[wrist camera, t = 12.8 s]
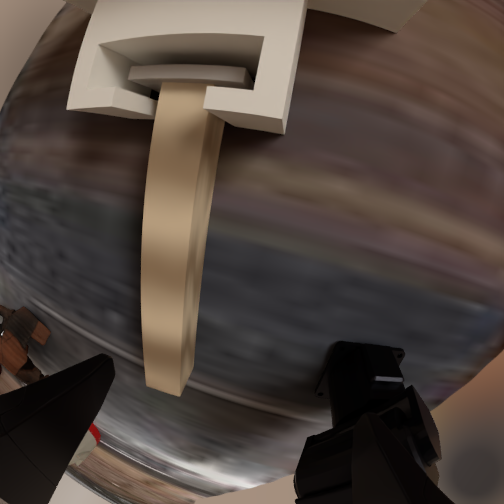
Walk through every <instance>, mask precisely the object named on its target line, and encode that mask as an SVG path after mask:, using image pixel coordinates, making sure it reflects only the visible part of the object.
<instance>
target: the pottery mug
mask: <svg viewBox="0 0 504 504" xmlns="http://www.w3.org/2000/svg"><path fill="white" fill-rule="evenodd" d="M0 315H1V316H2V317H3V321H2V324H0V363H1V364H2V365H3V366H5V368H6V369H7V370H8V371H10V372H11V373H12V374H13V375H15V376H16V377H17V378H18V379H19V380H21V381H22V382H24V383H25V384H27V385H29V384H31V383H34V382H36V381H39V380H41V379H43V378H46V377H48V376H49V375H46V376H44V375H43V374H42V373H41V371H40V370H39V369H38V368H37V367H36V366H35V365H34V364H33V362H32V361H31V359H30V358H29V357H28V356H27V354H28V345H27V343H28V341H29V339H30V338H33V339H35V340H36V341H37V342H39V343H40V344H41V345H45V343H46V341H47V339H48V337H49V335H50V333H51V332H50V331H49V330H48V329H47V327H45V326H44V325H43V324H42V323H41V322H40V321H39V320H38V319H37V318H35V317H34V315H33V314H32V313H31V312H30V311H29V310H28V309H26V308H25V307H22V308H21V309H19V310H17V311H15V310H10V309H7V308H5V307H4V306H2V305H0ZM3 331H4V332H3ZM2 332H3V336H2V335H1V333H2Z"/></svg>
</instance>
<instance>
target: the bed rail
mask: <svg viewBox="0 0 504 504" xmlns="http://www.w3.org/2000/svg"><path fill="white" fill-rule="evenodd" d="M128 80H130V81H133V82H135V83H138V84H140V85H143V86H145V87H148V88H150V89H152V90H155V91H157V92H159V93H160V95H159V100H158V105H157V111H156V116H155V122H154V128H153V134H152V141H151V147H150V155H149V162H148V171H147V179H146V189H145V200H144V213H143V228H142V251H141V317H142V339H143V354H144V366H145V377H146V386H148V387H151V388H154V389H157V390H160V391H163V392H166V393H169V394H172V395H175V396H178V397H180V396H181V394H182V391H183V389H184V387H185V385H186V382H187V380H188V378H189V376H190V373H191V371H192V369H193V365H194V352H195V340H196V328H197V317H198V307H199V297H200V288H201V279H202V270H203V262H204V253H205V245H206V238H207V230H208V223H209V216H210V209H211V202H212V195H213V188H214V182H215V176H216V170H217V163H218V157H219V152H220V146H221V140H222V134H223V129H224V124H225V121H224V120H223V119H221V118H219V117H217V116H216V115H214V114H212V113H210V112H208V111H207V110H205V109H203V105H204V100H205V95H206V90H207V86H214V87H226V88H236V89H245V90H254V83H253V81H252V79H251V77H250V75H249V73H248V71H247V69H246V68H243V67H232V66H218V65H193V64H169V65H145V66H131V68H130V72H129V76H128Z"/></svg>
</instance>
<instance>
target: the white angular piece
mask: <svg viewBox="0 0 504 504" xmlns="http://www.w3.org/2000/svg"><path fill="white" fill-rule="evenodd" d="M64 1H66V2H68V3H70V4H72V5H74V6H76V7H78V8H80V9H82V10H84V11H86V12H88V13H90V14H92V16H91V19H90V22H89V24H88V27H87V30H86V33H85V36H84V39H83V42H82V45H81V49H80V52H79V56H78V59H77V63H76V67H75V71H74V75H73V79H72V83H71V88H70V93H69V98H68V103H67V109H66V110H74V111H82V112H90V113H98V114H105V115H111V116H118V117H124V118H130V119H155V116H156V111H157V105H158V101H156V100H154V99H151V98H150V95H151V90H152V89H150V88H148V87H145V86H143V85H140V84H138V83H135V82H133V81H130V80H128V76H129V72H130V68H131V66H145V65H169V64H193V65H218V66H232V67H243V68H246V69H247V71H248V73H249V75H250V77H256V80H255V85H254V90H245V89H236V88H226V87H214V86H207V90H206V95H205V100H204V105H203V109H205V110H207V111H208V112H210V113H212V114H214V115H216V116H217V117H219V118H221V119H223V120H224V121H226V122H228V123H230V124H231V125H233V126H235V127H242V128H248V129H255V130H261V131H267V132H272V133H278V134H283V135H284V134H285V129H286V123H287V118H288V113H289V107H290V102H291V96H292V91H293V85H294V80H295V74H296V69H297V63H298V58H299V52H300V47H301V41H302V35H303V30H304V24H305V18H306V12H307V8H308V9H313V10H318V11H323V12H328V13H332V14H336V15H340V16H344V17H348V18H352V19H355V20H359V21H362V22H365V23H369V24H372V25H375V26H378V27H381V28H384V29H386V30H389V31H392V32H394V33H398V32H399V30H400V29H401V28H402V27H403V26H404V25H405V24H406V23H407V22H408V21H409V20H410V19H411V18H412V17H413V15H414V14H415V13H416V12H417V11H418V10H419V9H420V8H421V7H422V6H423V5H424V4H425V3H426V2H427V1H428V0H64Z"/></svg>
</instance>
